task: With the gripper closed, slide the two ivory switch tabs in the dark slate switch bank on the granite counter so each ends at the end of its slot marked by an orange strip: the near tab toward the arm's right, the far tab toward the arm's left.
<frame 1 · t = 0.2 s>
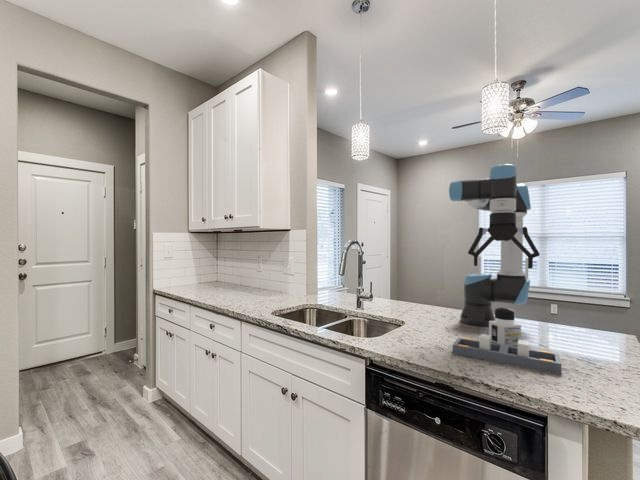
hand: (502, 277, 105), 27 cm above the worktop, fingers open, 13 cm apart
tab a: (485, 343, 109), point 4 cm above the worktop, slide at 2.0 cm
switch bank: (503, 358, 106), on the worktop
tab b: (523, 350, 103), point 4 cm above the worktop, slide at -2.0 cm
container: (504, 343, 122), on the worktop
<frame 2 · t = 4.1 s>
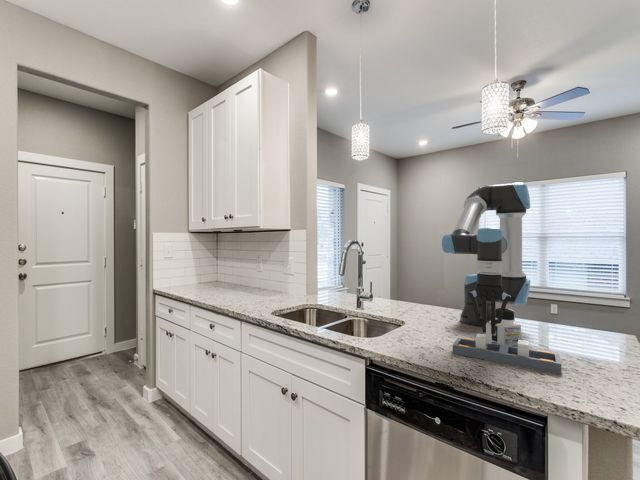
hand: (488, 342, 109), 4 cm above the worktop, fingers closed
tab a: (481, 343, 110), point 4 cm above the worktop, slide at 0.8 cm, touching gripper
everything else where it was.
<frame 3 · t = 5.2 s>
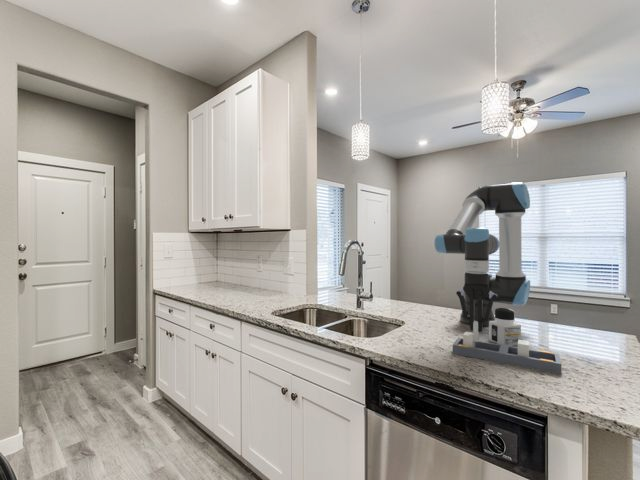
hand: (476, 340, 111), 4 cm above the worktop, fingers closed
tab a: (469, 341, 112), point 4 cm above the worktop, slide at -3.1 cm, touching gripper
everything else where it was.
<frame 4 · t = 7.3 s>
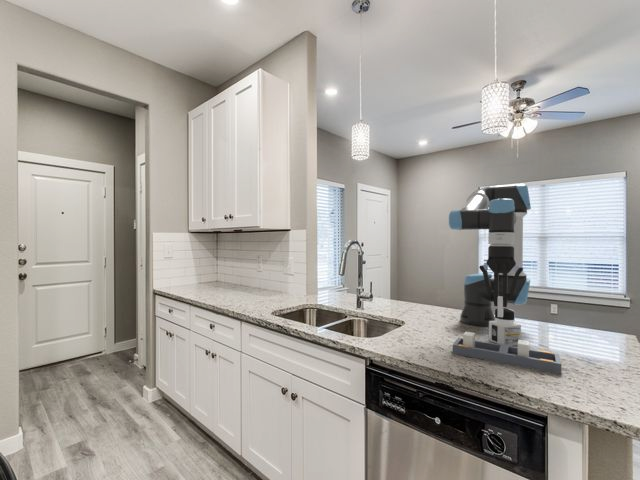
hand: (500, 316, 106), 14 cm above the worktop, fingers closed
tab a: (469, 341, 112), point 4 cm above the worktop, slide at -3.1 cm
everything else where it was.
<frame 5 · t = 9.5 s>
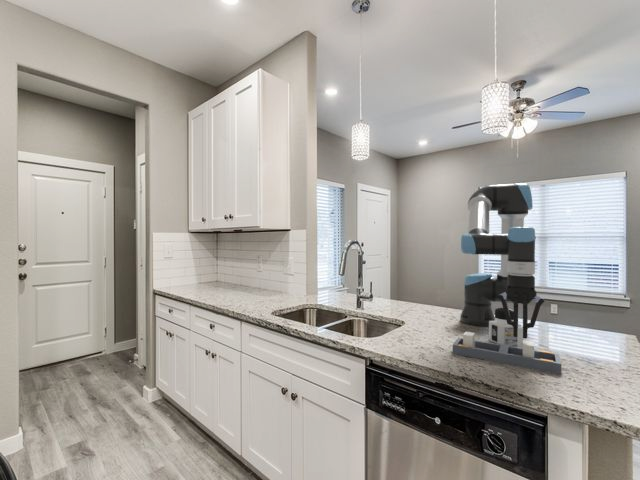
hand: (520, 347, 103), 4 cm above the worktop, fingers closed
tab b: (528, 350, 102), point 4 cm above the worktop, slide at -0.6 cm, touching gripper
everything else where it was.
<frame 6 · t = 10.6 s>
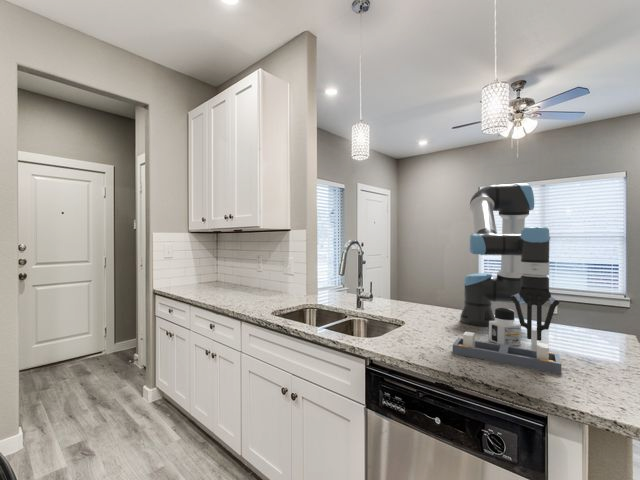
hand: (534, 349, 101), 4 cm above the worktop, fingers closed
tab b: (542, 353, 100), point 4 cm above the worktop, slide at 3.1 cm, touching gripper
everything else where it was.
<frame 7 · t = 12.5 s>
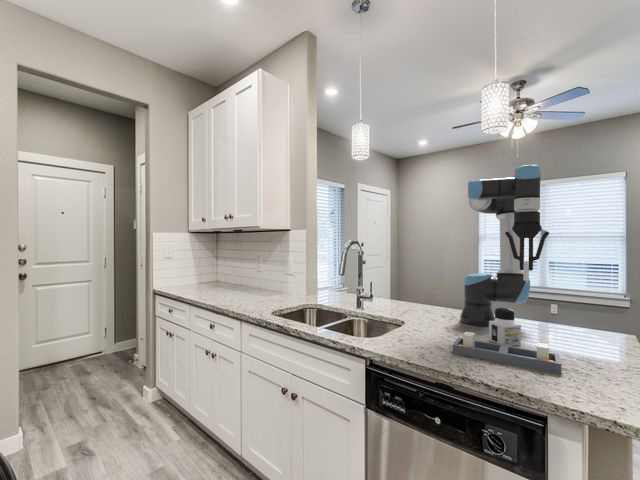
hand: (526, 279, 110), 26 cm above the worktop, fingers closed
tab b: (542, 353, 100), point 4 cm above the worktop, slide at 3.1 cm
everything else where it was.
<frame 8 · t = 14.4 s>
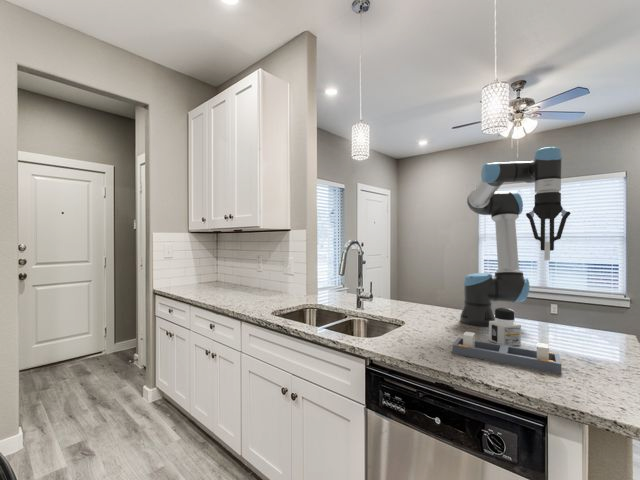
hand: (547, 260, 112), 32 cm above the worktop, fingers closed
nothing on the worktop moved.
at the end: tab a slide at -3.1 cm; tab b slide at 3.1 cm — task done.
